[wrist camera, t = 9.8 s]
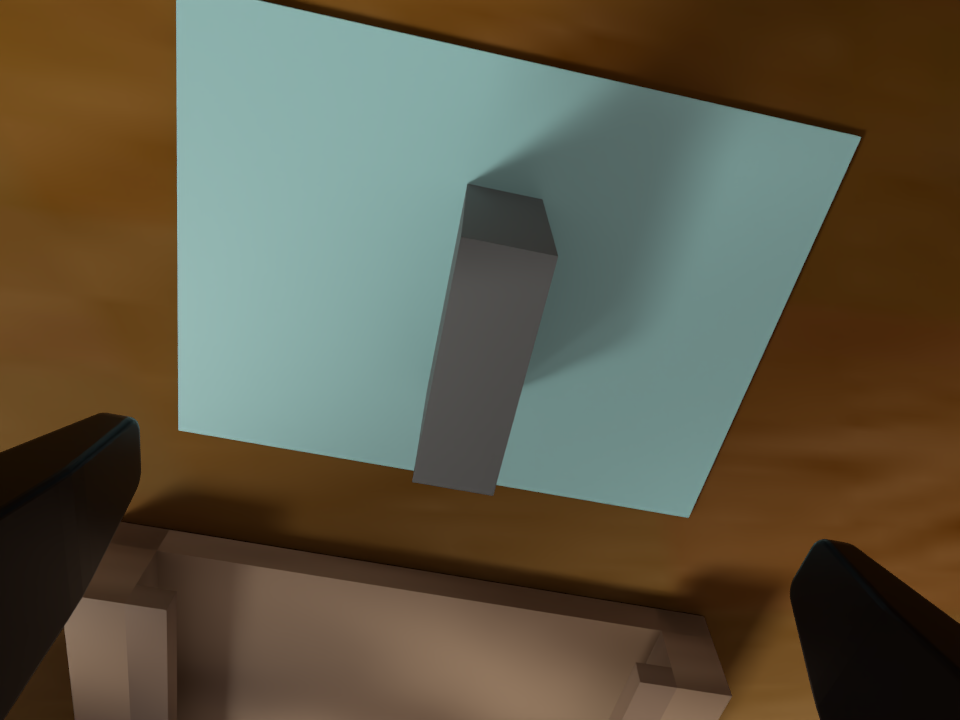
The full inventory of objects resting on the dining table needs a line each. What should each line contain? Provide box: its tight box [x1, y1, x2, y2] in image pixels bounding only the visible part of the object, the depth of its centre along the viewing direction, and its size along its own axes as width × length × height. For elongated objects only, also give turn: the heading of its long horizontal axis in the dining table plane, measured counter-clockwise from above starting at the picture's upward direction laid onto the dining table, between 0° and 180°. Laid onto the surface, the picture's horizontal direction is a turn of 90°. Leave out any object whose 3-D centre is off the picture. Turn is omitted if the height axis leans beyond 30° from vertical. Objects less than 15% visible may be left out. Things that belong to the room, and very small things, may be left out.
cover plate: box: [176, 0, 861, 518], centre depth 14 cm, size 10×13×4 cm
